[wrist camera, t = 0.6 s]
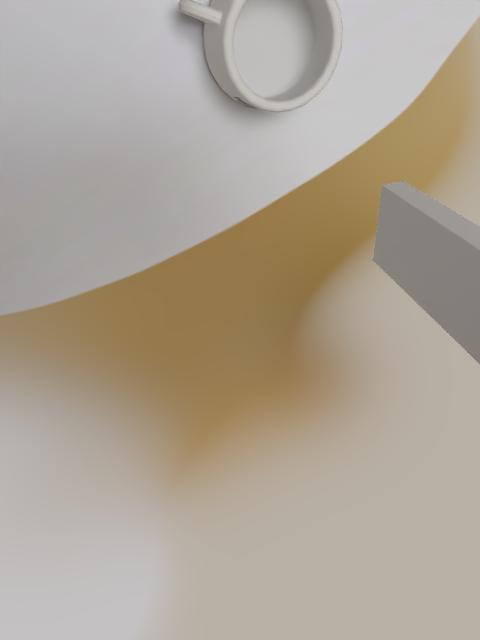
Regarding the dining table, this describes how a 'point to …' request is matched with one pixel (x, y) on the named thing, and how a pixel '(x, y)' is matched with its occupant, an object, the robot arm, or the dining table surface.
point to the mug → (270, 48)
